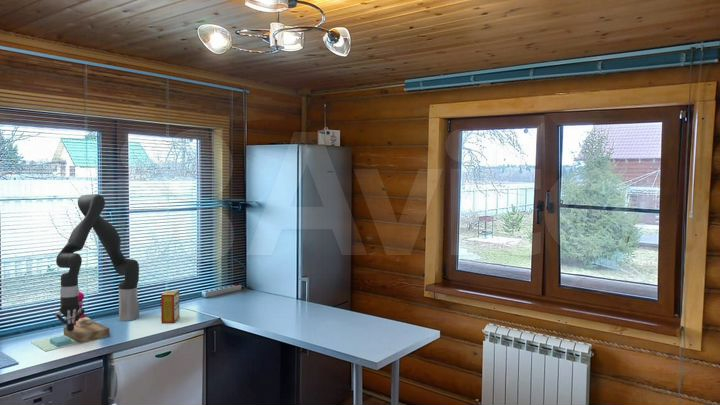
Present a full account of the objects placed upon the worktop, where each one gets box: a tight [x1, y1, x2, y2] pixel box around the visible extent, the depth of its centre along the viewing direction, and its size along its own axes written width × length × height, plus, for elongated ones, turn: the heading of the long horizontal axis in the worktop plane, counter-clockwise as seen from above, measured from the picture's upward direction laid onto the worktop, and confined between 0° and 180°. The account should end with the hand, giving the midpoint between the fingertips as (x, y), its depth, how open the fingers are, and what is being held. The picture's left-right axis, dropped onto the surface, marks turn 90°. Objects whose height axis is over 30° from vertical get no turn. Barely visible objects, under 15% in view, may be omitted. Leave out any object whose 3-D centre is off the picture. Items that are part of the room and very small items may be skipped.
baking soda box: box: [160, 290, 181, 325], centre depth 267 cm, size 10×6×16 cm
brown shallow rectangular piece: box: [63, 320, 111, 344], centre depth 241 cm, size 14×18×4 cm
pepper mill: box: [74, 291, 87, 325], centre depth 254 cm, size 7×7×20 cm
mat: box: [31, 334, 80, 352], centre depth 230 cm, size 14×18×1 cm
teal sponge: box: [49, 334, 72, 347], centre depth 230 cm, size 6×9×2 cm, turn 51°
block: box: [76, 316, 92, 327], centre depth 246 cm, size 5×5×3 cm
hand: (70, 330), depth 232 cm, fingers closed
